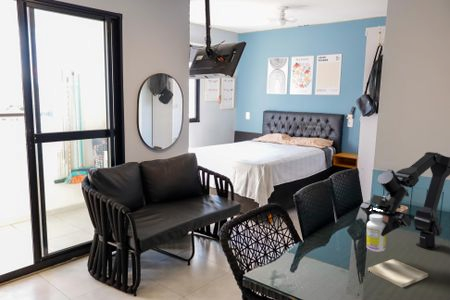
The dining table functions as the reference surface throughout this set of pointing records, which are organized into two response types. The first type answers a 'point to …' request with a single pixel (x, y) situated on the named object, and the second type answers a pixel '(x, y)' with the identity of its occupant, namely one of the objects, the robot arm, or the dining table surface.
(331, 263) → the dining table surface
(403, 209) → the anatomical model
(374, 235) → the supplement bottle
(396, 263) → the birch board
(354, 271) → the dining table surface
